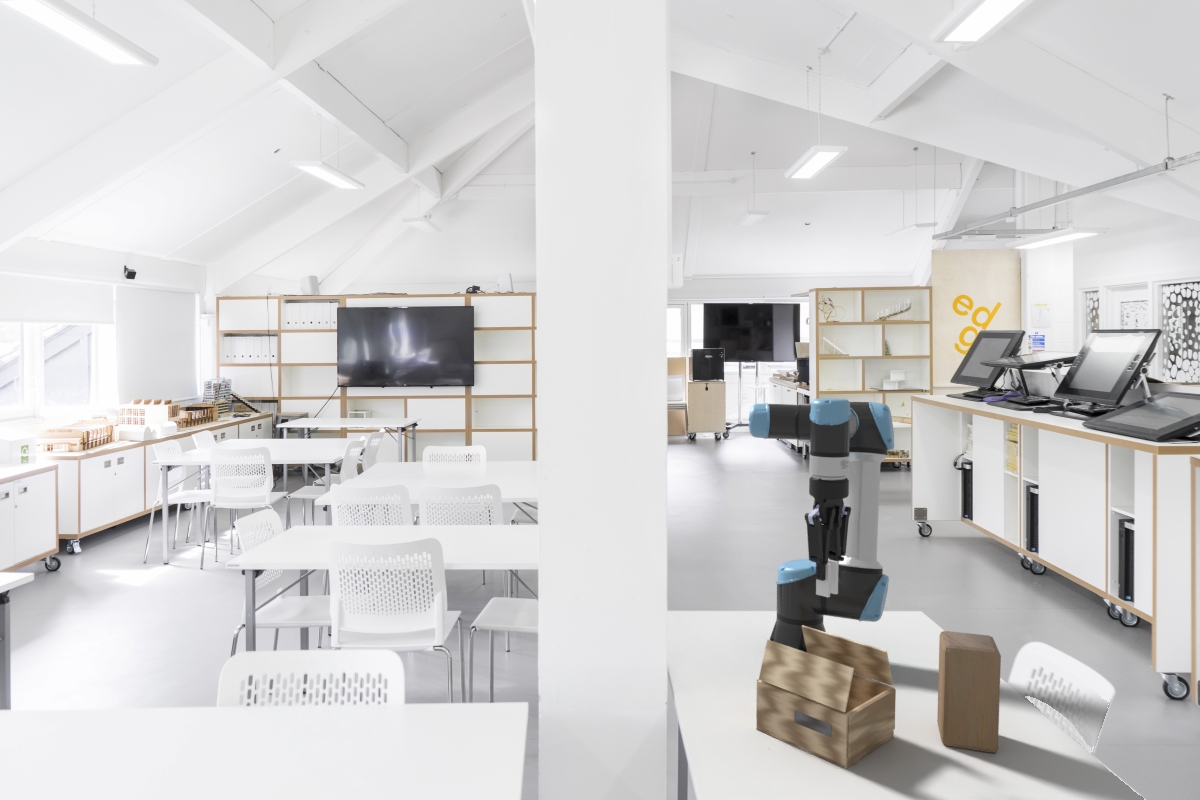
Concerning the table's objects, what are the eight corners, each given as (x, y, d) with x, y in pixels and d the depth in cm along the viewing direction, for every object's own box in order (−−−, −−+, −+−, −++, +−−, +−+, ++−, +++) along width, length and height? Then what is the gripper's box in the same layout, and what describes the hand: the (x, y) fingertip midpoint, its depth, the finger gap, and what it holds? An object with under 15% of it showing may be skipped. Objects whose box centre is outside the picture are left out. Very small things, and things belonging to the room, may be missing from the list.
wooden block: (990, 731, 155) (993, 634, 154) (998, 755, 146) (1001, 652, 145) (936, 723, 159) (939, 628, 157) (941, 746, 149) (943, 646, 148)
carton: (754, 728, 156) (754, 680, 156) (804, 702, 168) (805, 657, 168) (847, 770, 141) (848, 717, 140) (896, 737, 153) (897, 688, 152)
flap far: (808, 657, 167) (801, 626, 165) (809, 656, 167) (802, 625, 165) (892, 685, 153) (886, 652, 150) (893, 684, 153) (886, 650, 150)
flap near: (758, 679, 155) (767, 639, 156) (759, 679, 155) (768, 639, 157) (844, 712, 141) (853, 668, 142) (845, 712, 141) (854, 668, 142)
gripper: (824, 483, 144) (822, 606, 145) (866, 474, 154) (864, 590, 155) (790, 478, 149) (788, 597, 151) (833, 470, 159) (831, 582, 161)
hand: (826, 593), depth 153 cm, fingers open, 2 cm apart
